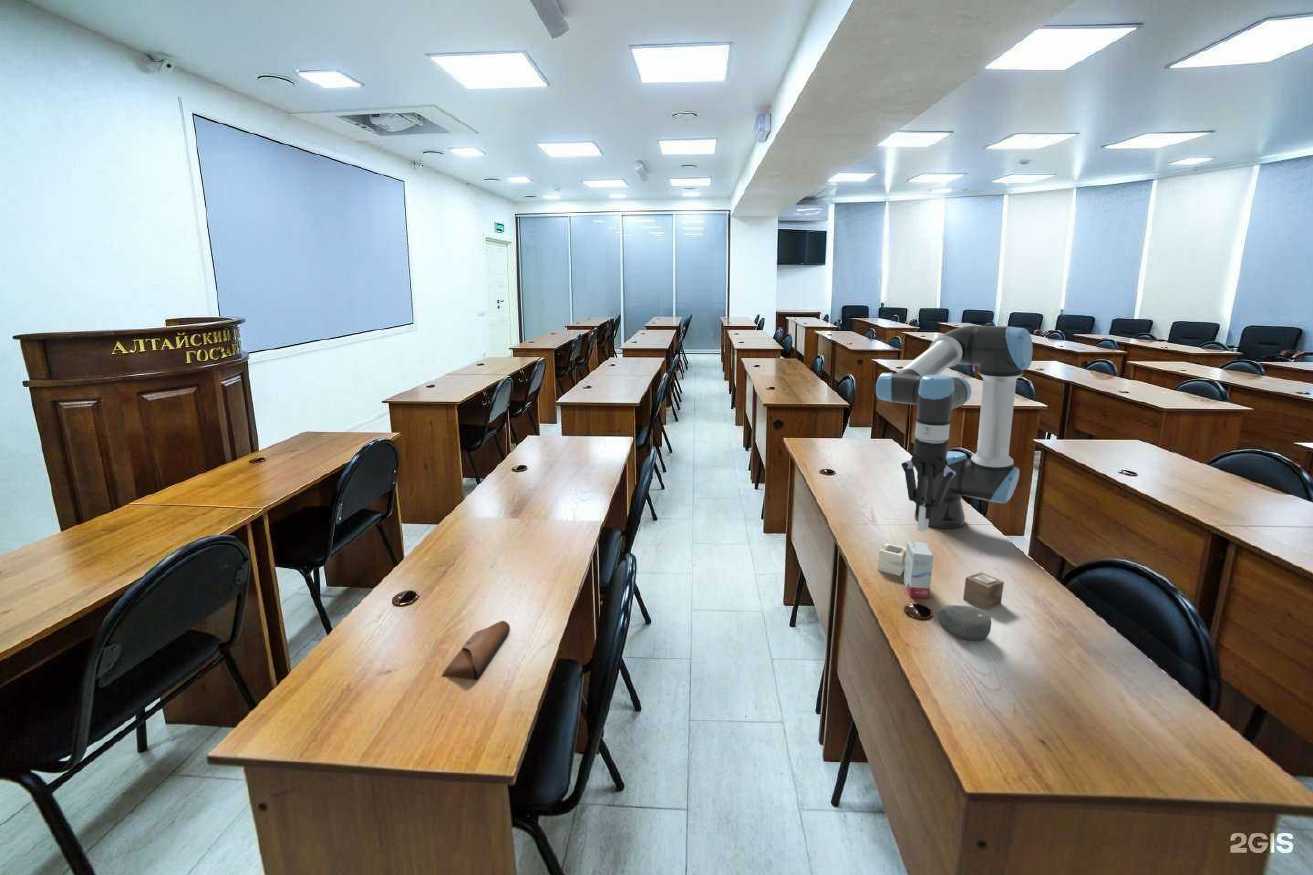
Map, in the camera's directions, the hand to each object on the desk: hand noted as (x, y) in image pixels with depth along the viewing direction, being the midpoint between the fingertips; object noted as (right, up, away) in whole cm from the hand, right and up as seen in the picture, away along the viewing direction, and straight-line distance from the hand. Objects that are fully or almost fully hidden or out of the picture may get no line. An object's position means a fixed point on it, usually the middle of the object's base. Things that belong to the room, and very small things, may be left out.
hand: (922, 529), depth 156 cm
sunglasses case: (-106, -25, -21) cm, 111 cm away
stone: (+3, -21, -15) cm, 26 cm away
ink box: (0, -16, +4) cm, 17 cm away
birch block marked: (-2, -13, +16) cm, 21 cm away
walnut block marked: (+14, -18, -2) cm, 23 cm away
